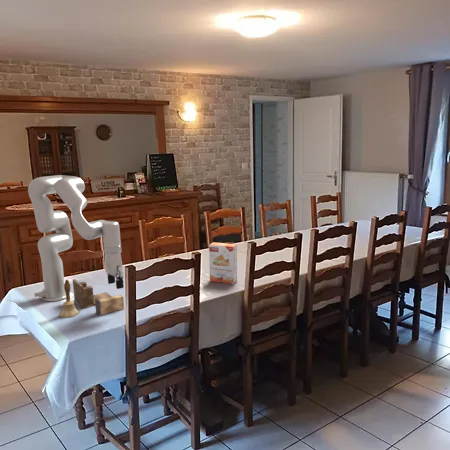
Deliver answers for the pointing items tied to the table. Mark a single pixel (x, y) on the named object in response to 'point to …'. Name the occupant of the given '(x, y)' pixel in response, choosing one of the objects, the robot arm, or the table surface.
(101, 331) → the table surface
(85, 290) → the brown wooden angled piece
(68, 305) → the hand bell
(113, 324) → the table surface
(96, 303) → the tan wooden block
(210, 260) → the cracker box
